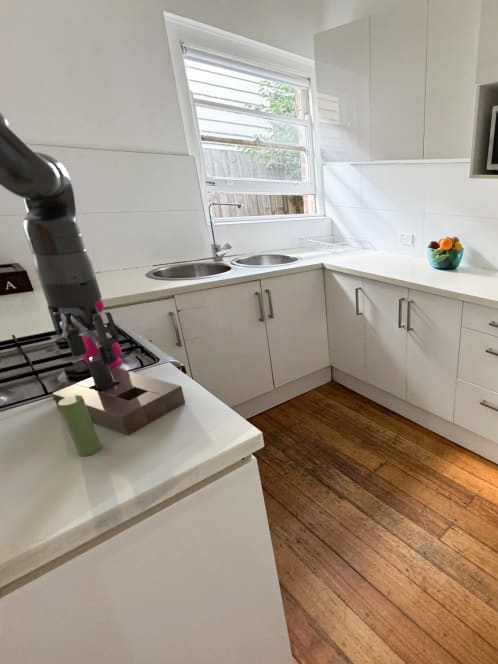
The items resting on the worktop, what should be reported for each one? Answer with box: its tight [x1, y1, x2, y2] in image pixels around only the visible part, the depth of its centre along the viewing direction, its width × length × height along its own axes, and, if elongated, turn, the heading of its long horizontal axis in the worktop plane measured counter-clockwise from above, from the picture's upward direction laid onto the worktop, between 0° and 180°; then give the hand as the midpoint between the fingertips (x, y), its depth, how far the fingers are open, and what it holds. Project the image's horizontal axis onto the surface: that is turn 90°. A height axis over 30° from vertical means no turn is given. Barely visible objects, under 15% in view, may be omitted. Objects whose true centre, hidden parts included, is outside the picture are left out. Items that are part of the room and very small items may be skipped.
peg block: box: [51, 367, 186, 436], centre depth 75 cm, size 12×20×4 cm, turn 69°
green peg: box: [58, 395, 102, 457], centre depth 62 cm, size 3×3×10 cm
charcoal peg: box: [85, 355, 115, 392], centre depth 75 cm, size 3×3×10 cm
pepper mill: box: [81, 298, 123, 369], centre depth 86 cm, size 7×7×20 cm
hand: (94, 359), depth 74 cm, fingers open, 8 cm apart
